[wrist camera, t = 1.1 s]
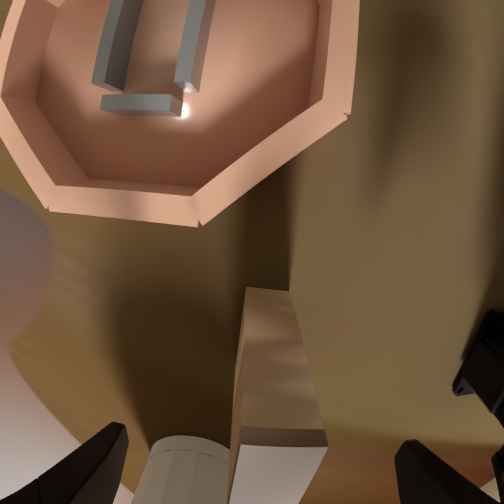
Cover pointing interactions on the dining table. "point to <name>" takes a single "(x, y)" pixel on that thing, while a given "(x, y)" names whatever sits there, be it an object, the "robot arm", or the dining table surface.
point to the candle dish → (169, 98)
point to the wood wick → (272, 406)
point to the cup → (184, 472)
